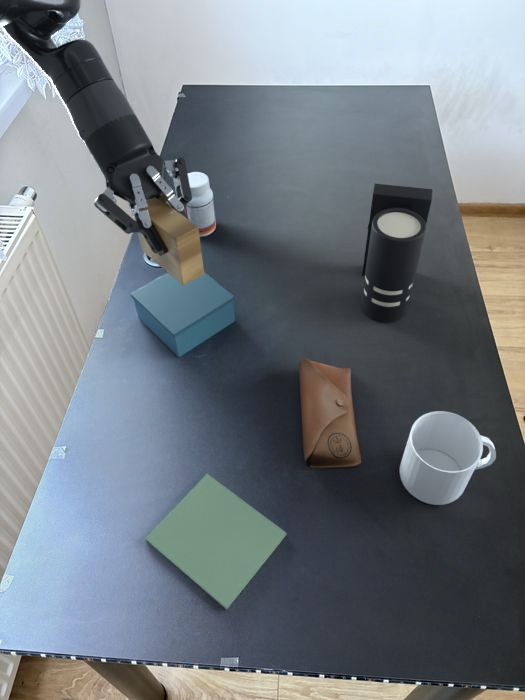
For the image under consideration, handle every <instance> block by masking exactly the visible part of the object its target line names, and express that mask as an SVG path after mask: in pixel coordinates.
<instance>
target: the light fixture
mask: <svg viewBox="0 0 525 700" xmlns="http://www.w3.org/2000/svg"><path fill="white" fill-rule="evenodd" d="M432 201H433V189H432V188H425V187H414V186H413V187H412V186H406V185H405V186H403V185H392V184H384V183H374V184H373V191H372V198H371V205H370V213H369V221H368V224H367V226H366V228H367V235H366V242H365V249H364V258H363V265H362V272H361V276H362V277H363V286H362V293H361V299H360V308H361V311H362V312H363V313H364V315H365V316H366V317H368V318H369V319H371V320H373V321H375V322H379V323H394V322H397V321H400V320H401V319H403V318H404V317H406V315H407V313H408V309H409V304H410V301H411V296H412V293H413V288H414V283H415V278H416V275H417V270H418V265H419V261H420V258H421V257H420V256H421V252H422V248H423V244H424V240H425V235H426V230H427V223H428V218H429V214H430V209H431V206H432Z"/></svg>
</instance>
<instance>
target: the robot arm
mask: <svg viewBox="0 0 525 700" xmlns="http://www.w3.org/2000/svg"><path fill="white" fill-rule="evenodd" d="M81 5H82V0H0V27H2V30H3V31H4V32H5V33H6V34H7V35H8V37H9V38H10V39H11V40H12V41H13V42H15V44H16V45H17V46H18V47H19V48H20V49H21V50H22V51H23V52H24V53H25V54H26V55H27V56H28V57H29V59H31V60H32V61H33V63H34V64H35V65H36V66H37V67H38V68H39V69H40V70H41V72H43V73H44V75H45V76H46V77H47V78H48V80H49V81H50V82H51V84H52V86H53V88H54V90H55V92H56V94H57V95H58V97H59V99H60V100H61V101H62V103H63V105H64V107H65V108H66V110H67V112H68V115H69V117H70V120H71V121H72V124H73V126H74V128H75V130H76V131H77V135H78V137H79V138H80V139H81V141H82V142H83V144H84V145H85V147H86V149H87V150H88V153H90V155H91V157H92V159H93V160H94V163H95V164H96V166H97V167H98V169H99V171H100V172H101V174H102V175H103V177H104V179H105V186H106V189H105V190H104V191H103V192H102V193H100V194H99V195H98V196H97V197H96V198H95V200H94V202H93V205H94V207H95V208H96V209H97V210H99V211H100V212H101V213H102V214H103V215H104V216H105V217H106V218H108V219H109V220H110V221H111V222H113V224H114V225H116V226H117V227H118V228H119V229H121V231H123V232H124V233H125V234H127V235H129V234H134V233H138V232H139V233H141V234H142V235H143V236H144V238H145V240H146V241H147V243H148V244H149V246H150V248H151V250H152V251H153V252H154V253H155V254H156V253H158V254H159V255H160V256H162V255H164V254H166V253H167V252H168V248H167V247H166V245H165V243H164V241H163V240H162V238H161V236H160V234H159V233H158V231H157V229H156V228H155V226H153V227H152V222H151V219H150V216H149V213H148V206H147V203H146V200H148V199H153V198H157V199H159V200H161V201H162V202H166V203H167V204H168V205H170V206H171V207H172V208H174V209H175V210H176V211H178V212H179V213H180V214H182V215H183V216H184V217H186V218H187V219H188V217H187V215H186V213H185V211H184V209H185V206H186V205H187V204H188V203H189V202H190V201H191V200H192V194H191V189H190V184H189V179H188V169H187V163H186V160H185V159H184V158H183V157H182V156H181V157H178V158H176V159H171V160H165V159H164V158H163V157H162V156H161V155H159V154H158V152H156V150H155V148H154V145H153V143H152V141H151V139H150V138H149V136H148V134H147V132H146V131H145V129H144V127H143V125H142V123H141V121H140V120H139V118H138V117H137V115H136V113H135V110H134V109H133V108H132V105H131V104H130V102H129V100H128V99H127V97H126V95H125V94H124V92H123V91H122V90H121V88H120V87H119V86H118V84H117V83H116V81H115V80H114V78H113V76H112V73H110V71H109V69H108V67H107V65H106V63H105V61H104V60H103V58H102V56H101V55H100V53H99V51H98V50H97V48H96V46H94V44H93V43H92V42H91V41H89V40H86V39H83V38H80V39H79V38H77V39H73V40H69V41H67V42H65V43H62V44H60V45H58V46H57V45H56V44H55V43H56V42H54V40H53V37H54V36H55V35H56V34H57V33H58V32H59V31H61V30H62V29H63V28H64V27H65V26H67V25H68V24H69V23H70V22H71V21H72V20H73V19H75V17H76V16H77V15H78V14H79V11H80V9H81ZM166 172H167V174H168V176H169V177H170V178H172V180H173V185H174V190H175V191H174V190H173V189H172V187H171V186H170V185H169V184H168V183H167V182H166V181H165V180H166ZM115 197H118V198H120V199H122V200H123V201H126V203H127V205H128V207H129V211H130V213H131V216H132V217H131V216H130V215H129V214H128V213H127V212H126V211H125V210H124V209H122V208H121V207H120V206H119V205H118V204H117V199H116V198H115ZM134 206H135V207H134ZM188 220H189V219H188ZM189 221H190V220H189Z"/></svg>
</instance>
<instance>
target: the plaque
mask: <svg viewBox="0 0 525 700" xmlns="http://www.w3.org/2000/svg"><path fill="white" fill-rule="evenodd" d="M146 203H147V206H148V213H149V216H150V219H151V222H152V227H153V226H155V228H156V229H157V231H158V233H159V234H160V236H161V238H162V240H163V241H164V243H165V245H166V247H167V248H168V252H167V253H166V254H164V255H162V256H160V255H159V254H158V253H156V254H155V253H154V252H153V251H152V250H151V248H150V246H149V244H148V243H147V241H146V240H145V238H144V236H143V235H142V234H141V233H139V232H137V235H138V239H139V244H140V247H141V251H142V252H143V253H144V254H145V255H147V256H148V257H149V258H150V259H151V260H152V261H154V262H155V263H156V264H157V265H158V266H160V268H161V269H163V270H164V271H166V273H169V274H170V275H171V276H173V277H174V278H175V279H176V280H177V281H178V282H180V283H181V284H182V285H183V286H184V285H186V284H187V283H189V282H191V281H193V280H194V279H196V278H198V277H199V276H201V275H203V274H204V272H205V269H204V268H205V267H204V260H203V253H202V245H201V237H200V236H199V228H198V227H197V226H196V225H195V224H193V223H192V222H191V221H189V220H188V219H187V218H186V217H184V216H183V215H182V214H180V213H179V212H178V211H176V210H175V209H174V208H172V207H171V206H170V205H168V204H167V203H166V202H162V201H161V200H159V199H157V198H153V199H148V200H146ZM134 207H135V206H134Z"/></svg>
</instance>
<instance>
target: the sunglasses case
mask: <svg viewBox="0 0 525 700" xmlns="http://www.w3.org/2000/svg"><path fill="white" fill-rule="evenodd" d="M298 377H299V378H298V379H299V395H300V396H299V398H300V408H301V409H300V411H301V429H302V441H303V442H302V444H303V457H304V463H305V465H306V466H307V467H308V468H310V469H314V470H316V469H318V470H319V469H342V468H354V467H358V466H360V465H361V464H362V456H361V451H360V444H359V439H358V435H357V434H358V433H357V427H356V420H355V411H354V404H353V403H354V402H353V401H354V400H353V393H352V371H351V368H350V367H337V366H335V365H331V364H327V363H326V364H325V363H322V362H318V361H314V360H311V359H310V358H308V357H304V358H302V359H301V360H300V361H299V362H298Z"/></svg>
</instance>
